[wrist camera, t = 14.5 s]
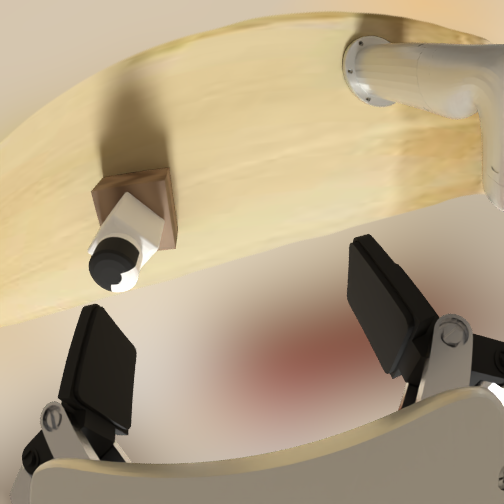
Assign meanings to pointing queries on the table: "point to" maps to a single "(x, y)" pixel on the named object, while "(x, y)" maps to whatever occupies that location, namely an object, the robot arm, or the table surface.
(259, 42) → the table surface
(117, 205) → the medicine bottle
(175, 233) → the walnut box
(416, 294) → the robot arm
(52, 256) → the table surface
